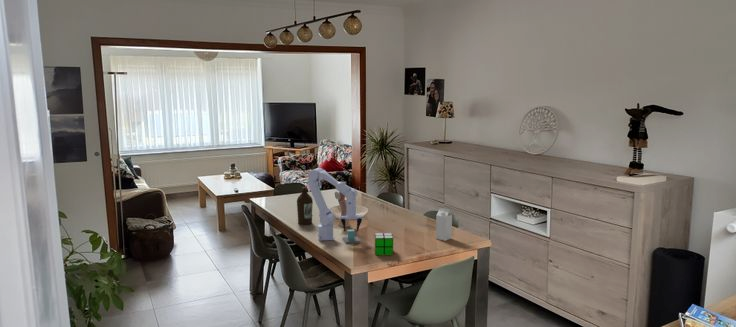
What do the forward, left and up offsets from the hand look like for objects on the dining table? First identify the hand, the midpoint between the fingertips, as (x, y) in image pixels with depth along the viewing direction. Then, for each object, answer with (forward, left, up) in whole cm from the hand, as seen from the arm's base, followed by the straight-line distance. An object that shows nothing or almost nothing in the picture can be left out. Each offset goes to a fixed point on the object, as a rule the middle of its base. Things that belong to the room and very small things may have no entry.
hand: (351, 231), depth 317 cm
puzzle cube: (+16, -23, -7) cm, 29 cm away
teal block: (0, 0, -5) cm, 5 cm away
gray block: (0, 0, -7) cm, 7 cm away
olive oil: (-27, +44, -7) cm, 52 cm away
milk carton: (+57, -2, -7) cm, 57 cm away
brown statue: (-2, +35, -7) cm, 36 cm away
